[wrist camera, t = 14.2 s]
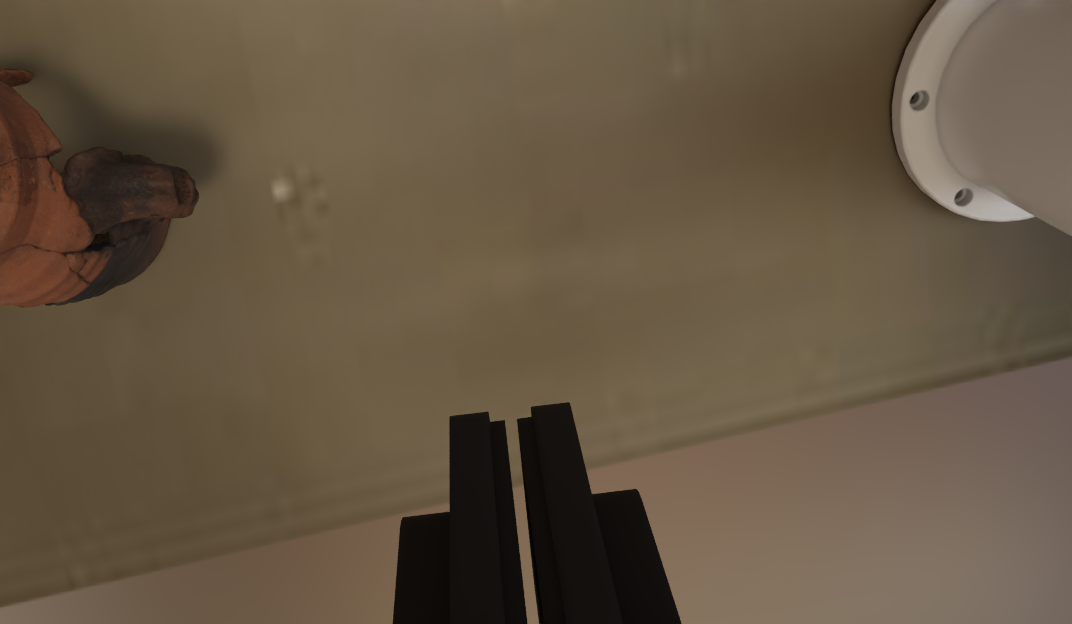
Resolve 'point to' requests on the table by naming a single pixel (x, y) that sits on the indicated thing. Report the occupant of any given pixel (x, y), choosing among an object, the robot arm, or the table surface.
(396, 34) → the table surface
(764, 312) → the table surface
